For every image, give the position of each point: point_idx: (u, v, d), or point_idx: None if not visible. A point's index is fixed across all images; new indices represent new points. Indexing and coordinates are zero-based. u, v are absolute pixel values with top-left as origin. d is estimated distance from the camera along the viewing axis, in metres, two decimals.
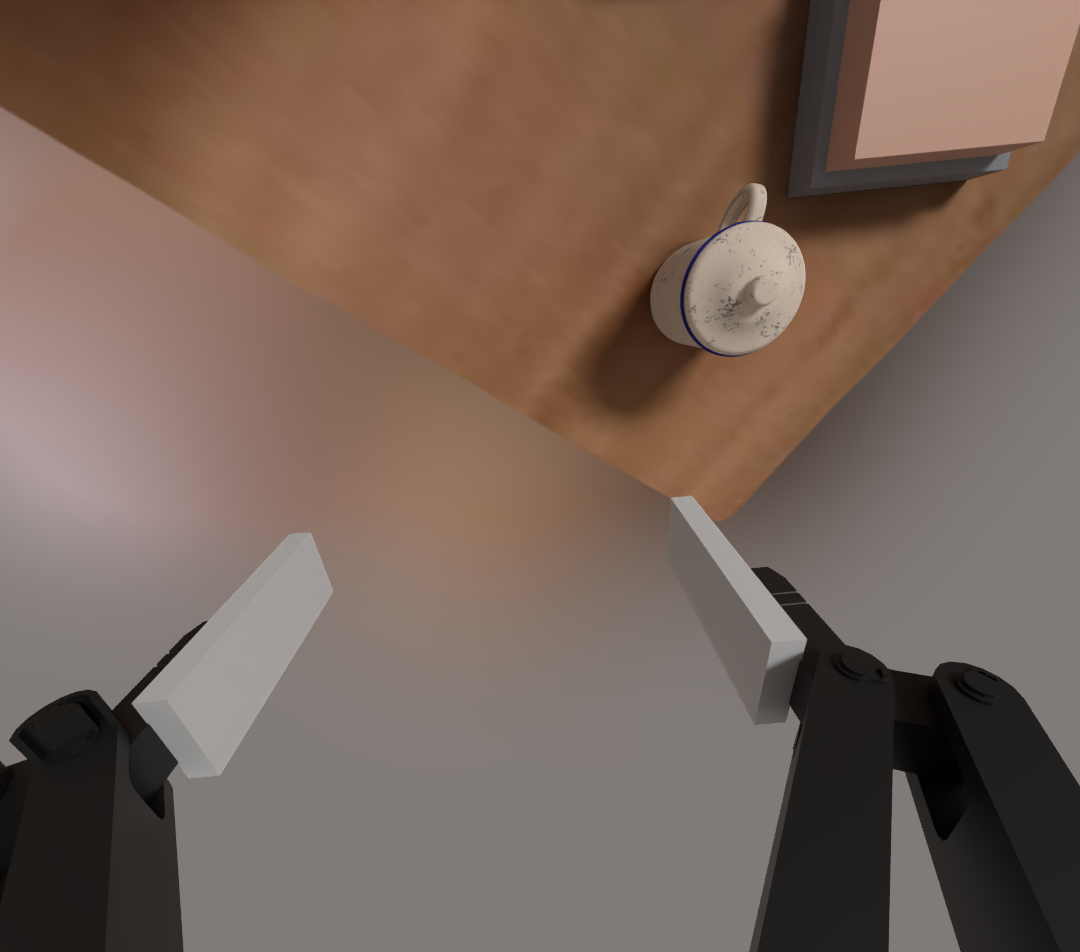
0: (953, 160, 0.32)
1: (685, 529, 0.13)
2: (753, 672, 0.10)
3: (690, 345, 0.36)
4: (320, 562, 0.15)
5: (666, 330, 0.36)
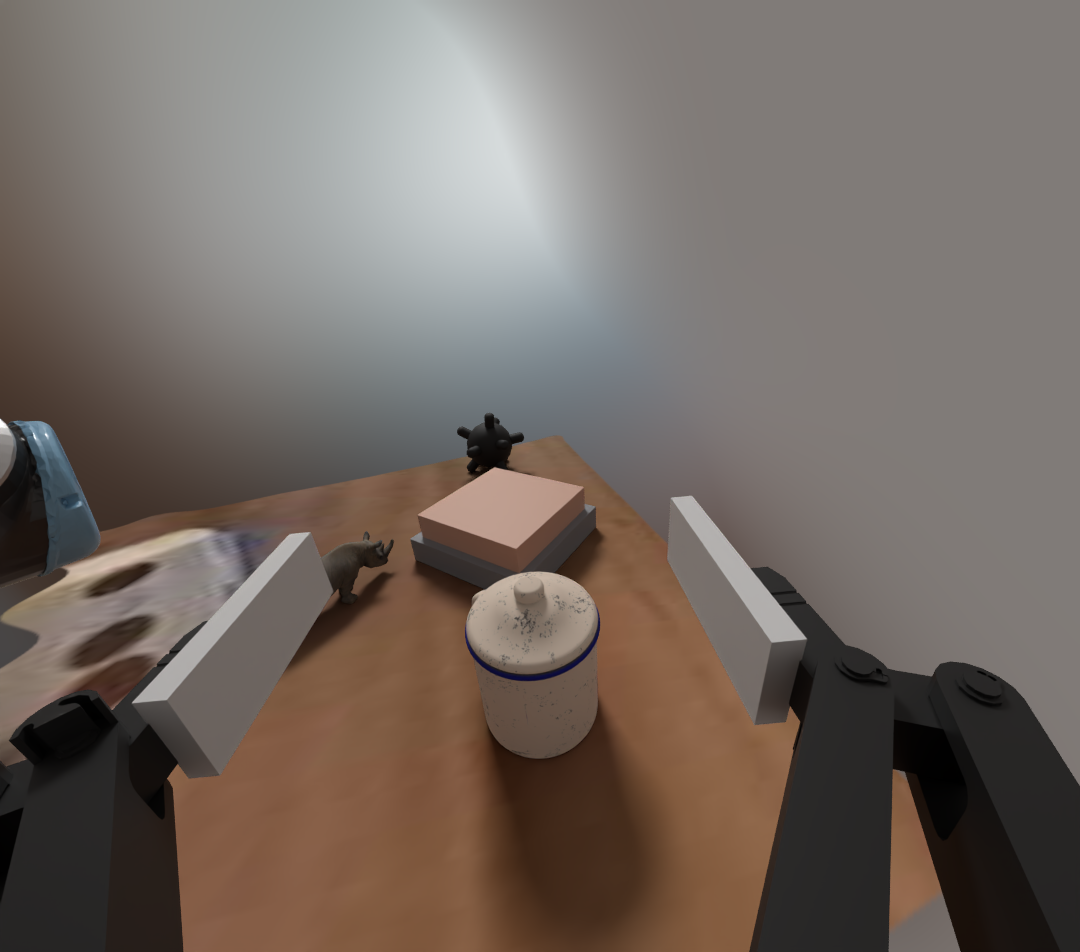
0: (570, 522, 0.48)
1: (685, 529, 0.13)
2: (753, 672, 0.10)
3: (575, 715, 0.27)
4: (320, 562, 0.15)
5: (543, 738, 0.27)
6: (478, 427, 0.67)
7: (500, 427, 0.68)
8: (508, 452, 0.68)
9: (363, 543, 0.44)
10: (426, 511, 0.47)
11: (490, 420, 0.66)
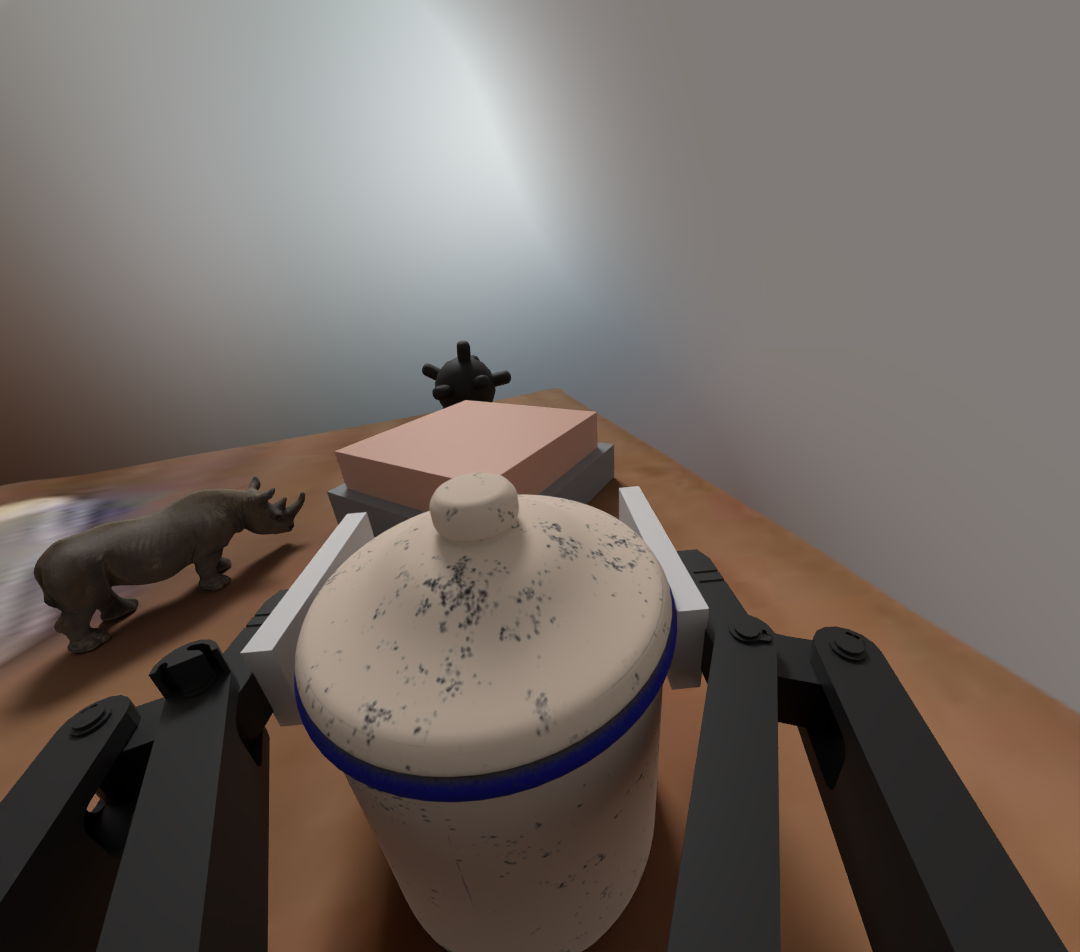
0: (577, 464, 0.31)
1: (628, 516, 0.14)
2: None
3: (612, 864, 0.09)
4: None
5: (522, 936, 0.09)
6: (449, 362, 0.50)
7: (478, 362, 0.50)
8: (490, 396, 0.51)
9: (242, 492, 0.27)
10: (350, 447, 0.30)
11: (465, 349, 0.49)
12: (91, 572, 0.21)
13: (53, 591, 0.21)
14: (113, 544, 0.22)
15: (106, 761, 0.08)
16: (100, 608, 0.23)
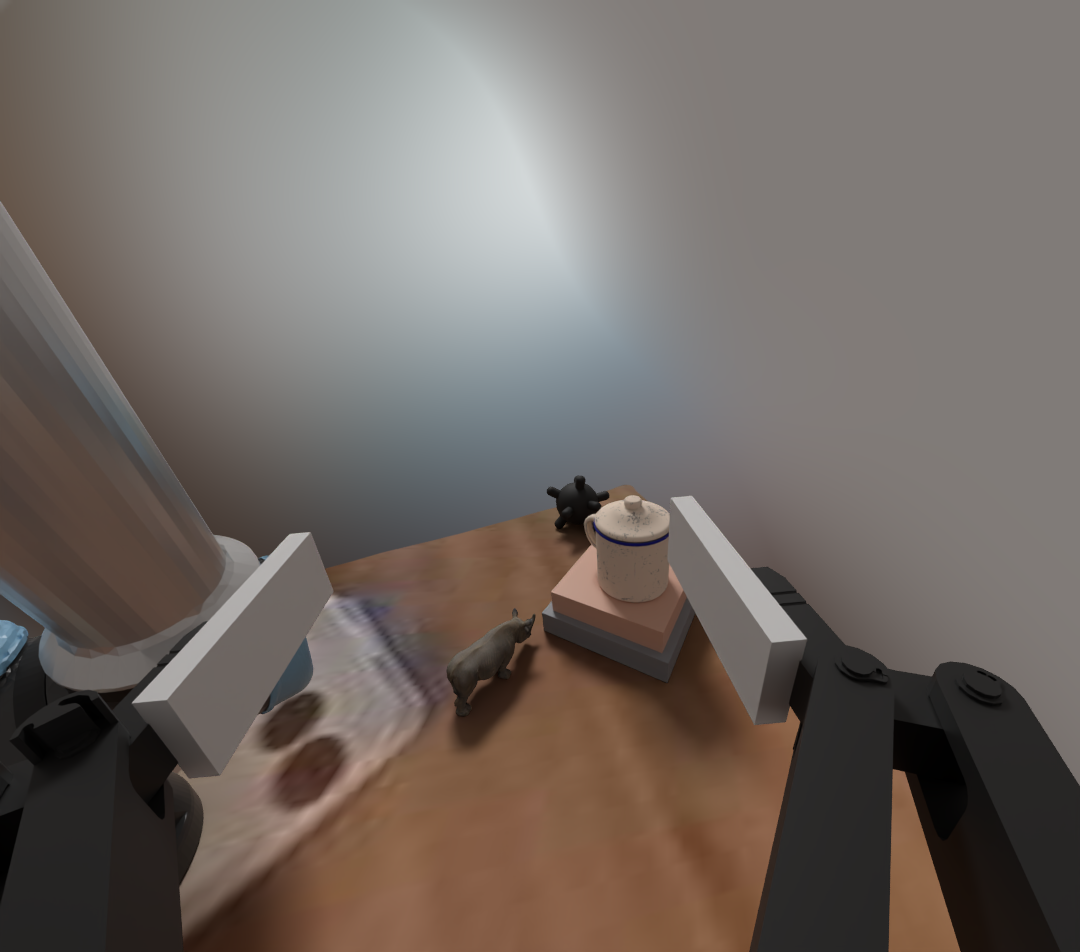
0: None
1: (685, 529, 0.13)
2: (753, 672, 0.10)
3: (660, 574, 0.47)
4: (320, 562, 0.15)
5: (642, 587, 0.47)
6: (569, 488, 0.71)
7: (588, 488, 0.72)
8: (596, 511, 0.72)
9: (516, 622, 0.48)
10: (557, 587, 0.51)
11: (582, 483, 0.70)
12: (475, 678, 0.43)
13: (460, 687, 0.42)
14: (480, 662, 0.43)
15: None
16: None
